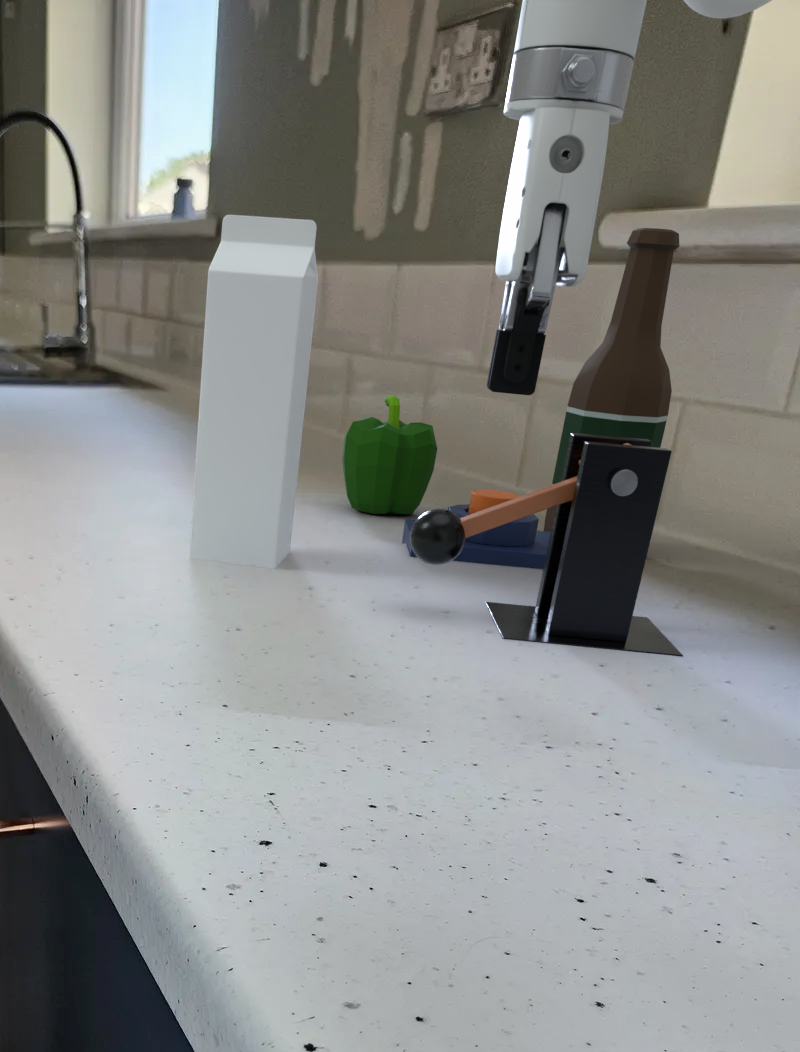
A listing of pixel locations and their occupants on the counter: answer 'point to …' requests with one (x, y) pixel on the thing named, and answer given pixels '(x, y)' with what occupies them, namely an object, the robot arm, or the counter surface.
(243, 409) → the milk
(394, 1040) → the counter surface
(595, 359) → the beer bottle
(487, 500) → the button
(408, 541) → the control block
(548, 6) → the robot arm
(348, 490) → the bell pepper
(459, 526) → the lever
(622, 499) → the bracket
